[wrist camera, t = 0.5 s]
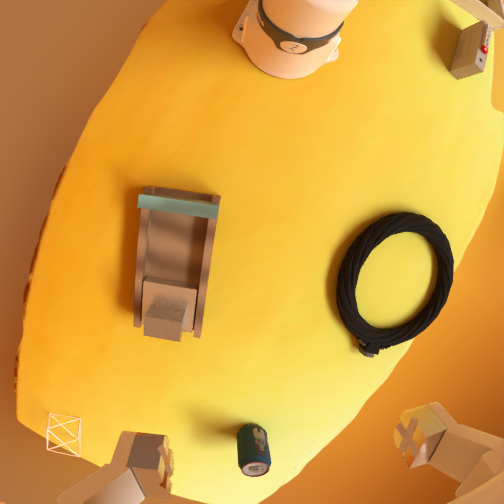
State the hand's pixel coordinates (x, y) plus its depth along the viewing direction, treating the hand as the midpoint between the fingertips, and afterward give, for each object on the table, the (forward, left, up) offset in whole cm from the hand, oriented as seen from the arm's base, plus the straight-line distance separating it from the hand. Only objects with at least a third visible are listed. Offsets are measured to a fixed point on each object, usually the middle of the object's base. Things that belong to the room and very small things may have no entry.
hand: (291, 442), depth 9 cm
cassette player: (-48, +41, -45) cm, 77 cm away
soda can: (+47, +10, -44) cm, 65 cm away
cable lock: (+7, +32, -45) cm, 55 cm away
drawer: (+8, -10, -44) cm, 46 cm away
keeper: (+15, -10, -43) cm, 46 cm away
